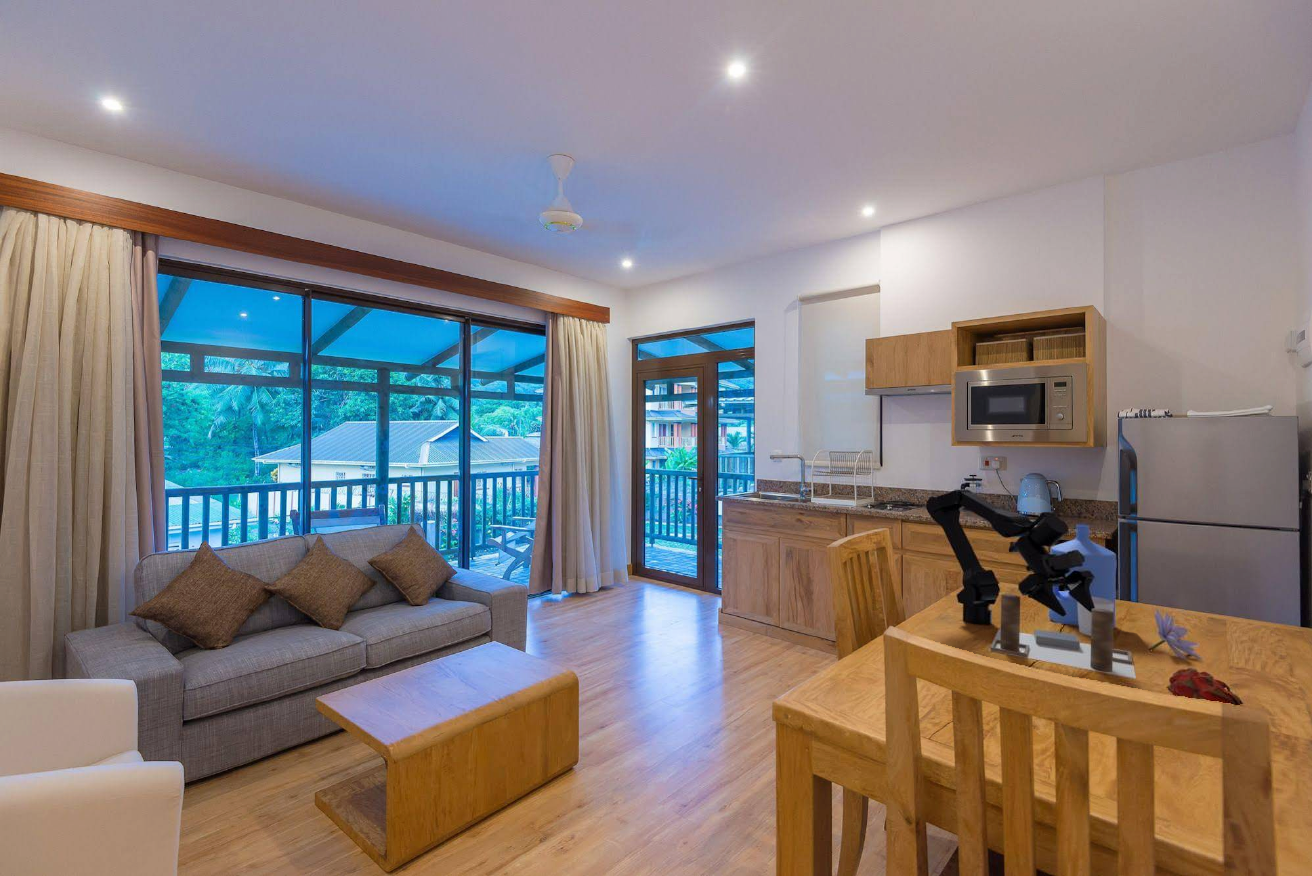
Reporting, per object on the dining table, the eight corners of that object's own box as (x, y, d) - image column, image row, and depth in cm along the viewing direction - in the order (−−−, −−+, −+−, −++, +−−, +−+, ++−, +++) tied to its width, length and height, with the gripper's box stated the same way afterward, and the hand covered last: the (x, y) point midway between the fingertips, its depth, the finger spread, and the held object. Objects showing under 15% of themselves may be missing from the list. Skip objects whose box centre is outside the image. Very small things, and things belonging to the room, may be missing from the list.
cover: (1036, 643, 152) (1036, 635, 152) (1033, 636, 157) (1034, 629, 157) (1079, 650, 148) (1079, 642, 148) (1075, 642, 153) (1075, 634, 153)
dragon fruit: (1166, 704, 125) (1237, 740, 113) (1148, 685, 122) (1219, 721, 110) (1189, 670, 125) (1261, 703, 114) (1171, 651, 122) (1244, 683, 111)
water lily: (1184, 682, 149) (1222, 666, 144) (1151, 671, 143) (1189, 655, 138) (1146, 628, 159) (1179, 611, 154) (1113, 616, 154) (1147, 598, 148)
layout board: (989, 655, 147) (989, 647, 147) (998, 633, 163) (998, 626, 163) (1135, 684, 131) (1136, 675, 131) (1130, 656, 147) (1130, 648, 147)
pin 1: (999, 649, 147) (1000, 596, 147) (1001, 645, 151) (1002, 593, 150) (1018, 653, 145) (1019, 599, 145) (1020, 648, 148) (1020, 595, 148)
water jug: (1112, 621, 175) (1114, 524, 175) (1118, 636, 162) (1120, 531, 161) (1048, 611, 183) (1049, 519, 183) (1048, 625, 170) (1050, 526, 170)
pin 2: (1090, 669, 136) (1091, 611, 135) (1090, 663, 139) (1091, 607, 139) (1112, 673, 133) (1114, 614, 133) (1112, 667, 137) (1113, 610, 136)
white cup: (1119, 644, 156) (1120, 605, 155) (1085, 641, 157) (1085, 603, 157) (1103, 634, 163) (1104, 597, 163) (1070, 632, 165) (1071, 595, 165)
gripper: (1029, 540, 143) (1073, 599, 133) (1087, 536, 149) (1134, 592, 138) (1000, 566, 151) (1040, 624, 140) (1057, 562, 156) (1099, 617, 146)
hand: (1079, 614), depth 141 cm, fingers open, 9 cm apart
